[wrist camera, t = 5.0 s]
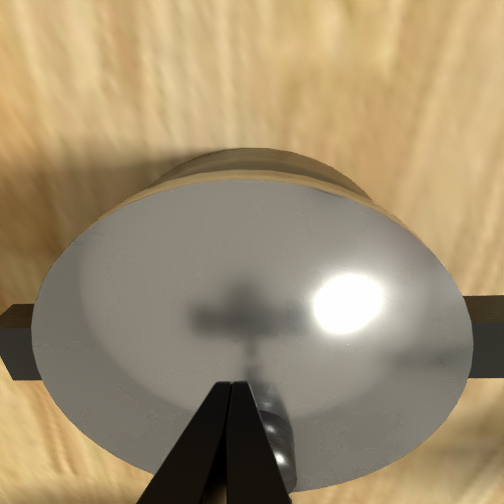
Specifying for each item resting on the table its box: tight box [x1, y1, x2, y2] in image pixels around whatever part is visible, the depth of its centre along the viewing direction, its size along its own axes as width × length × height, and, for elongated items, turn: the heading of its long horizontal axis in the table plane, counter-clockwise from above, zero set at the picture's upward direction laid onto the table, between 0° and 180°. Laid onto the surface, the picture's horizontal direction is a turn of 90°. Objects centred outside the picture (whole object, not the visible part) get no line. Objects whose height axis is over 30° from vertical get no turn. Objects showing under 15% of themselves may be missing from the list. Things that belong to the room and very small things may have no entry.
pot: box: [0, 148, 504, 380], centre depth 17 cm, size 18×23×5 cm
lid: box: [31, 170, 474, 494], centre depth 13 cm, size 16×16×3 cm
